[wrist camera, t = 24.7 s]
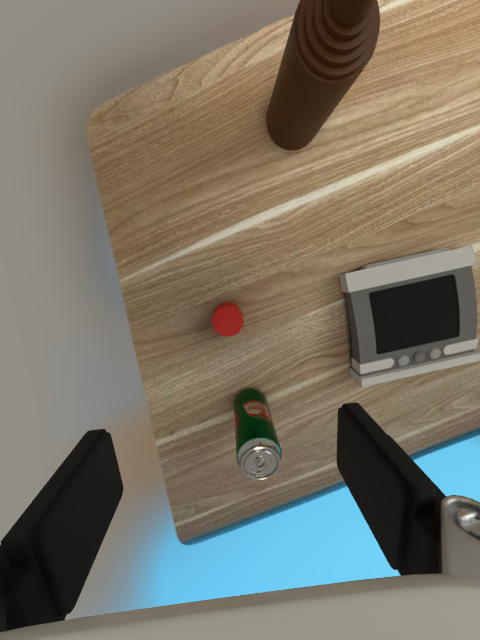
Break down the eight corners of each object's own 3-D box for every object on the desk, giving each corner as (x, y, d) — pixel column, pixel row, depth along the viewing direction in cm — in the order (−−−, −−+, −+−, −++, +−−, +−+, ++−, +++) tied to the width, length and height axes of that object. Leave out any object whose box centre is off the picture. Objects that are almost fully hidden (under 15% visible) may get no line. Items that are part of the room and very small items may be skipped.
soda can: (272, 394, 38) (292, 453, 27) (256, 420, 39) (270, 488, 28) (242, 382, 38) (250, 437, 26) (228, 409, 38) (229, 473, 27)
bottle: (257, 133, 30) (296, -22, 13) (281, 76, 29) (358, -171, 12) (302, 160, 31) (392, 47, 14) (328, 106, 30) (458, -85, 13)
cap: (214, 330, 35) (213, 337, 32) (212, 303, 34) (210, 307, 31) (242, 328, 36) (244, 335, 32) (240, 300, 35) (242, 305, 32)
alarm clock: (361, 387, 35) (355, 273, 30) (346, 370, 39) (338, 268, 34) (479, 360, 35) (494, 242, 30) (451, 347, 40) (459, 242, 34)
